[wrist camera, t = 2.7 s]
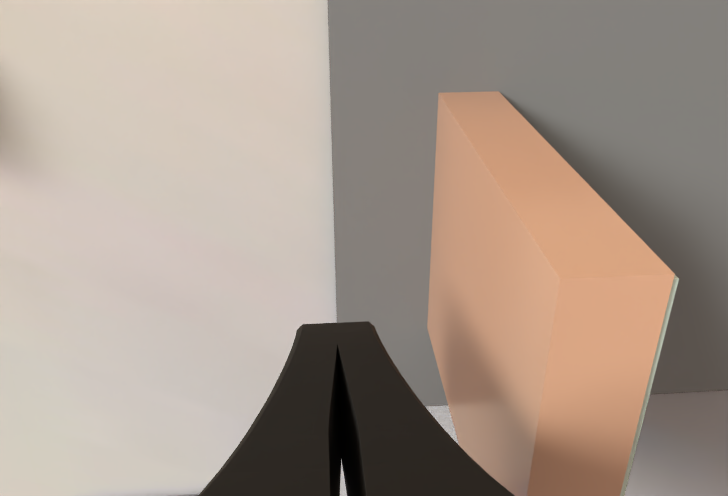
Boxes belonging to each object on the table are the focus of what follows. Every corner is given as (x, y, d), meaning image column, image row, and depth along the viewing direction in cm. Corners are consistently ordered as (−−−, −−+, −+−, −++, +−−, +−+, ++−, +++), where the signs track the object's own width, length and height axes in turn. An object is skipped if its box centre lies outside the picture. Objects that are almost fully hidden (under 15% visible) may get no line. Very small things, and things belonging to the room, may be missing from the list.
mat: (762, 382, 22) (767, 388, 22) (339, 404, 21) (339, 410, 21) (912, -47, 16) (922, -46, 16) (326, -40, 15) (326, -39, 15)
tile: (483, 325, 20) (600, 613, 12) (426, 327, 20) (507, 620, 12) (506, 90, 16) (690, 272, 9) (438, 93, 16) (560, 278, 8)
